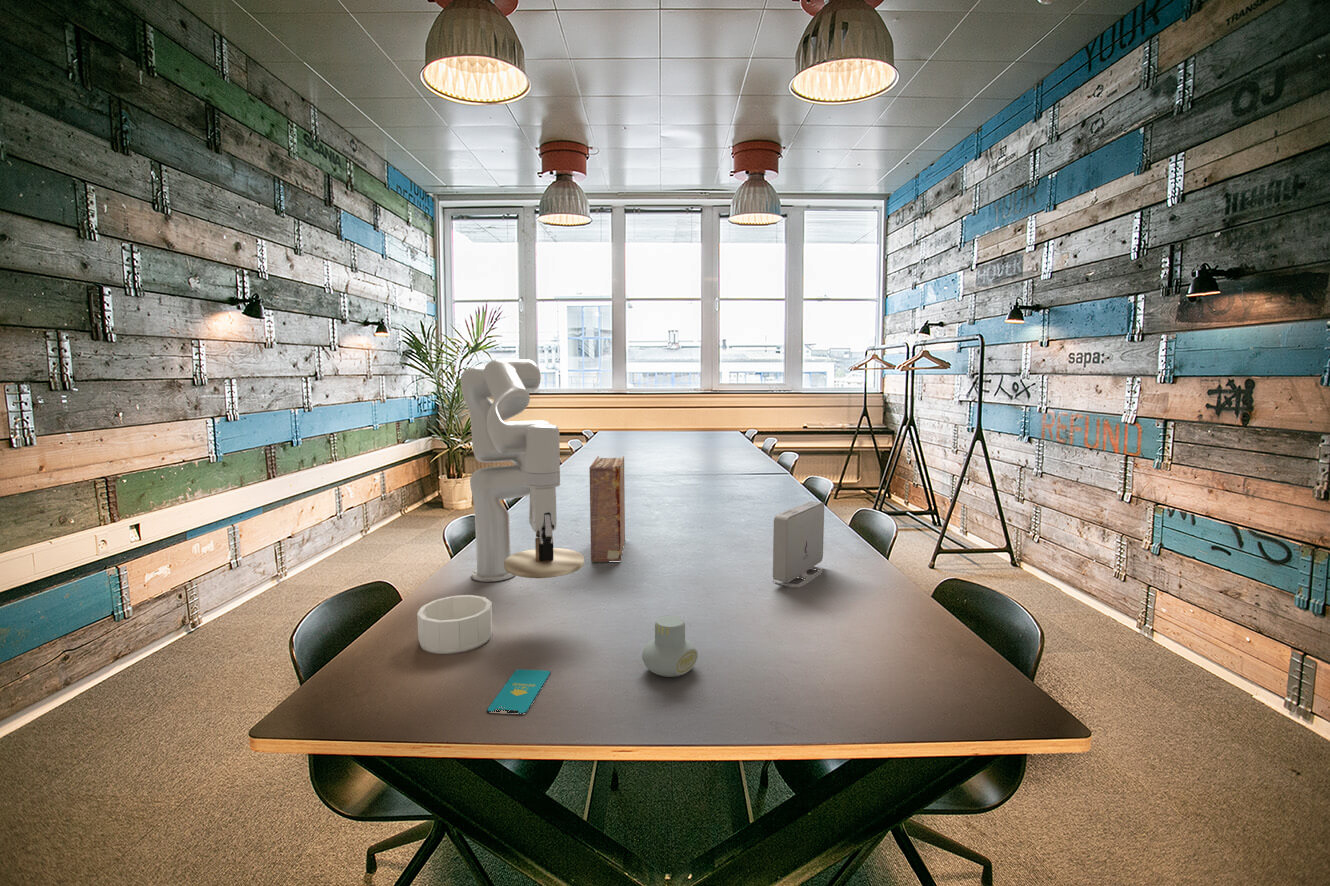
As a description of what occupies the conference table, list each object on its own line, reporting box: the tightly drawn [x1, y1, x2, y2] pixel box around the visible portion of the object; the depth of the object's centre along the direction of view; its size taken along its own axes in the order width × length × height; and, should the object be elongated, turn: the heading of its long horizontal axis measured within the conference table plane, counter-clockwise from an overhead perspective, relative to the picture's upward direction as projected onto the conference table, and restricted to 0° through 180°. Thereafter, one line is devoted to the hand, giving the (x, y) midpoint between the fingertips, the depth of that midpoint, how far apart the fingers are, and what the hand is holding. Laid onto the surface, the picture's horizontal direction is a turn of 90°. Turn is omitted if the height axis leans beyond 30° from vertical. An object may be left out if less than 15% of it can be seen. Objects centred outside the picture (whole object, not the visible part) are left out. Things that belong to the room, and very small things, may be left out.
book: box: [589, 455, 626, 563], centre depth 195 cm, size 25×9×30 cm, turn 1°
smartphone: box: [486, 668, 552, 714], centre depth 109 cm, size 7×1×15 cm
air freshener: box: [641, 615, 699, 678], centre depth 116 cm, size 11×8×10 cm
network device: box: [772, 500, 825, 588], centre depth 170 cm, size 26×9×20 cm, turn 143°
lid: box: [504, 537, 585, 579], centre depth 137 cm, size 18×18×6 cm
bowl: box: [416, 594, 494, 655], centre depth 131 cm, size 15×15×7 cm
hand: (544, 556), depth 137 cm, fingers closed on lid, 4 cm apart
